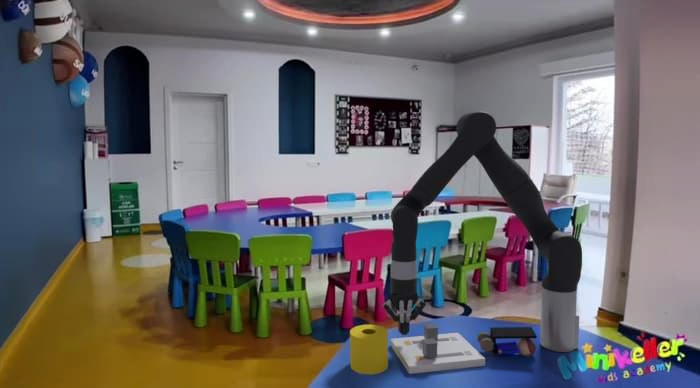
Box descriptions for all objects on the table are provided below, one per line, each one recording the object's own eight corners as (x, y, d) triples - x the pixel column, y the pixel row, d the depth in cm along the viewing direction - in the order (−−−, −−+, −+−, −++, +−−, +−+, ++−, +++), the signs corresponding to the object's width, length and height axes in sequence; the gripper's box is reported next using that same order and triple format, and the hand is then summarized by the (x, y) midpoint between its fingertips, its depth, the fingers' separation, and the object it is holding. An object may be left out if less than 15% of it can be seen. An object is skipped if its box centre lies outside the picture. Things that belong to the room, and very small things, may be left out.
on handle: (433, 352, 129) (433, 338, 129) (437, 357, 126) (437, 343, 126) (422, 353, 128) (422, 339, 128) (426, 358, 125) (426, 344, 125)
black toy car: (482, 364, 130) (539, 360, 128) (479, 337, 130) (537, 333, 128) (478, 353, 137) (533, 349, 135) (476, 328, 136) (530, 323, 134)
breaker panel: (457, 339, 144) (457, 332, 143) (485, 365, 126) (485, 358, 126) (390, 345, 140) (390, 338, 140) (409, 373, 122) (409, 366, 122)
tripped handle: (434, 336, 140) (434, 323, 139) (438, 340, 136) (438, 327, 136) (423, 337, 139) (423, 324, 139) (427, 341, 136) (427, 328, 135)
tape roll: (391, 359, 131) (391, 326, 130) (382, 376, 121) (382, 340, 120) (356, 355, 134) (356, 323, 133) (345, 371, 124) (345, 336, 123)
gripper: (421, 270, 139) (421, 327, 141) (378, 272, 137) (378, 331, 138) (430, 277, 132) (430, 337, 134) (384, 280, 129) (384, 341, 131)
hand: (403, 334), depth 136 cm, fingers closed
